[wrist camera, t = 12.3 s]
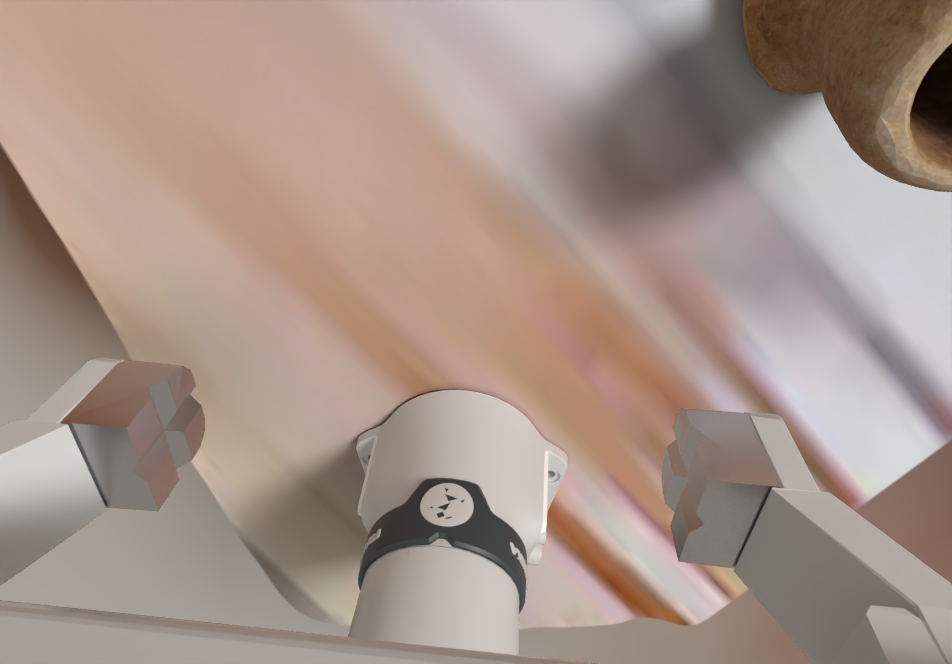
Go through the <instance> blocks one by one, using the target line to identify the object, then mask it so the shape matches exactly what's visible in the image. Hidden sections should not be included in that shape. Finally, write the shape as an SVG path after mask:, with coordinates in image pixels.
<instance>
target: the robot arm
mask: <svg viewBox="0 0 952 664" xmlns="http://www.w3.org/2000/svg"><path fill="white" fill-rule="evenodd" d="M195 386H196V385H195V382H194V379H193V376H192V373H191V370H190V369H188V368H186V367H184V366H179V365H170V364H161V363H151V362H142V361H133V360H119V359H109V358H100V357H99V358H96V359H92V360H89V361H88V362H87V363H86V364H85V365H83V366H82V367H81V368H80V369H79V371H77V372H76V373H75V374H74V375H73V376H72V377H71V378H70V379H69V380H68V381H67V382H66V383H65V384H63V385H62V386H61V387H60V388H59V389H58V390H57V391H56V392H55V393H54V394H53V395H52V396H51V397H50V398H49V399H48V400H47V401H46V402H44V403H43V404H42V405H41V406H40V407H39V408H38V409H37V410H36V411H35V412H34V413H33V414H32V415H31V416H30V417H29V418H28V419H27V420H14V421H12V422H9V423H7V424H5V425H2V426H0V586H1V585H2V584H4V583H5V582H7V581H8V580H9V579H11V578H12V577H14V576H15V575H16V574H18V573H19V572H21V571H22V570H24V569H25V568H26V567H28V566H29V565H31V564H32V563H33V562H35V561H36V560H38V559H39V558H40V557H42V556H43V555H44V554H46V553H48V552H49V551H50V550H52V549H53V548H55V547H56V546H57V545H59V544H60V543H62V542H63V541H64V540H66V539H67V538H68V537H70V536H72V535H73V534H74V533H76V532H77V531H78V530H80V529H81V528H83V527H84V526H86V525H87V524H88V523H90V522H91V521H93V520H94V519H96V518H97V517H98V516H100V515H101V514H102V513H104V512H105V511H107V508H120V509H134V510H151V511H159V509H160V508H161V506H162V505H163V503H164V502H165V500H166V499H167V497H168V496H169V494H170V493H171V491H172V490H173V488H174V487H175V485H176V484H177V482H178V481H179V477H178V472H177V468H179V467H181V466H182V465H184V464H185V463H187V462H189V461H191V460H192V459H193V458H194V456H195V454H196V453H197V451H198V449H199V448H200V446H201V442H202V439H203V435H204V431H205V417H204V413H203V409H202V406H201V405H200V404H199V403H198V402H197V401H196V400H195V399H194V398H193V397H192V396H191V395H190V394H191V392H192V391H193V389H194V388H195ZM673 429H674V433H675V437H676V440H675V441H674V442H672V443H671V444H670V445H668V446H667V447H666V451H665V455H664V459H663V466H662V489H663V495H664V499H665V503H666V504H667V505H668V506H669V507H670V508H671V509H672V510H673V511H674V512H675V513H674V516H673V519H672V522H671V525H670V527H671V531H672V535H673V540H674V544H675V548H676V553H677V557H678V561H679V562H687V563H695V564H703V565H711V566H719V567H727V568H735V569H734V572H735V573H736V574H737V575H738V577H739V578H740V579H741V580H742V581H743V583H744V584H745V585H746V586H747V587H748V588H749V590H750V591H751V592H752V593H753V594H754V596H755V597H756V598H757V599H758V600H759V601H760V603H761V604H762V605H763V606H764V607H765V609H766V610H767V611H768V612H769V613H770V615H771V616H772V617H773V618H774V619H775V621H776V622H777V623H778V624H779V625H780V626H781V628H782V629H783V630H784V631H785V632H786V634H787V635H788V636H789V637H790V638H791V640H792V641H793V642H794V643H795V644H796V646H797V647H798V648H799V649H800V650H801V651H802V653H803V654H804V655H805V656H806V657H807V659H808V660H809V661H810V662H811V663H812V664H952V584H951V583H949V582H948V581H947V580H945V579H944V578H943V577H941V576H940V575H939V574H937V573H936V572H935V571H933V570H932V569H931V568H929V567H928V566H927V565H925V564H924V563H923V562H921V561H920V560H919V559H917V558H916V557H915V556H913V555H912V554H911V553H909V552H908V551H907V550H905V549H904V548H903V547H901V546H900V545H899V544H897V543H896V542H894V541H893V540H892V539H891V538H889V537H888V536H887V535H885V534H884V533H883V532H881V531H880V530H879V529H877V528H876V527H875V526H873V525H872V524H871V523H869V522H868V521H867V520H865V519H864V518H863V517H861V516H860V515H859V514H857V513H856V512H855V511H853V510H852V509H851V508H849V507H848V506H847V505H845V504H844V503H843V502H841V501H840V500H839V499H837V498H836V497H835V496H833V495H832V494H831V493H826V492H820V491H819V489H818V487H817V485H816V483H815V481H814V479H813V477H812V475H811V474H810V472H809V470H808V468H807V466H806V464H805V462H804V460H803V458H802V456H801V454H800V452H799V450H798V448H797V446H796V444H795V442H794V440H793V439H792V437H791V435H790V433H789V431H788V429H787V427H786V425H785V423H784V421H783V419H782V418H781V417H779V416H778V415H777V414H763V413H747V412H745V413H737V412H724V411H711V410H698V409H686V408H681V409H680V410H679V412H678V413H677V415H676V418H675V421H674V424H673ZM356 451H357V454H358V457H359V459H360V462H361V465H362V467H363V470H364V473H365V479H364V483H363V487H362V491H361V496H360V500H359V504H358V515H359V516H361V517H362V522H363V525H364V527H365V529H366V531H367V532H368V534H369V536H368V540H367V543H366V544H365V547H364V549H363V553H362V557H361V561H360V571H359V577H358V584H359V588H360V594H359V598H358V601H357V605H356V609H355V612H354V616H353V620H352V624H351V627H350V631H349V635H348V637H340V636H332V635H331V636H330V635H322V634H313V633H304V632H294V631H284V630H275V629H266V628H256V627H247V626H238V625H229V624H219V623H210V622H200V621H191V620H181V619H171V618H163V617H153V616H144V615H134V614H124V613H115V612H105V611H96V610H87V609H77V608H68V607H57V606H49V605H39V604H29V603H20V602H11V601H1V600H0V664H599V663H588V662H578V661H569V660H560V659H551V658H541V657H531V656H522V655H519V614H520V612H521V610H522V608H523V606H524V603H525V594H526V590H527V585H528V569H527V564H531V565H538V564H539V562H540V559H541V555H542V545H544V543H545V539H546V525H547V511H548V509H549V507H550V505H551V503H552V501H553V499H554V496H555V494H556V492H557V490H558V488H559V486H560V484H561V481H562V479H563V477H564V475H565V473H566V471H567V467H568V457H567V455H566V454H565V453H564V452H563V451H562V450H561V449H559V448H558V447H556V446H555V445H553V444H551V443H549V442H548V441H546V440H545V439H544V438H543V437H542V436H541V435H540V434H539V433H538V431H537V430H536V428H535V427H534V426H533V424H532V423H531V422H530V421H529V420H528V419H527V418H526V416H524V415H523V414H522V413H521V412H520V411H518V410H517V409H516V408H514V407H513V406H511V405H510V404H508V403H506V402H504V401H502V400H500V399H497V398H495V397H492V396H489V395H486V394H483V393H478V392H473V391H466V390H443V391H436V392H431V393H427V394H424V395H421V396H418V397H416V398H414V399H411V400H410V401H408V402H406V403H405V404H403V405H402V406H401V407H399V408H398V409H397V410H396V411H395V412H394V413H393V414H392V415H391V416H390V418H389V419H388V420H387V421H386V422H385V423H384V424H382V425H381V426H378V427H376V428H374V429H371V430H369V431H367V432H365V433H363V434H362V435H360V436H359V438H358V440H357V445H356ZM549 471H552V472H549Z"/></svg>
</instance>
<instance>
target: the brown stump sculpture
mask: <svg viewBox="0 0 952 664" xmlns="http://www.w3.org/2000/svg"><path fill="white" fill-rule="evenodd" d="M742 19H743V27H744V33H745V38H746V43H747V47H748V51H749V54H750V58H751V61H752V63H753V65H754V67H755V69H756V70H757V72H758V73H759V74H760V75H761V76H762V77H763V78H764V79H765V80H766V82H767V84H768V85H769V86H770V88H771V89H773V90H775V91H777V92H779V93H784V94H790V95H792V94H805V93H812V92H818V91H822V93H823V97H824V100H825V103H826V106H827V108H828V110H829V112H830V114H831V115H832V117H833V119H834V121H835V122H836V124H837V125H838V127H839V129H840V131H841V133H842V134H843V136H844V138H845V139H846V141H847V142H848V144H849V146H850V147H851V148H852V149H853V150H854V151H855V153H856V154H857V155H858V156H859V157H860V158H861V159H862V160H863V161H864V162H865V163H867V164H868V165H870V166H871V167H872V168H874V169H875V170H876V171H878V172H880V173H882V174H883V175H885V176H887V177H889V178H891V179H894V180H896V181H898V182H901V183H905V184H908V185H912V186H915V187H919V188H924V189H929V190H935V191H943V192H952V0H742Z"/></svg>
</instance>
